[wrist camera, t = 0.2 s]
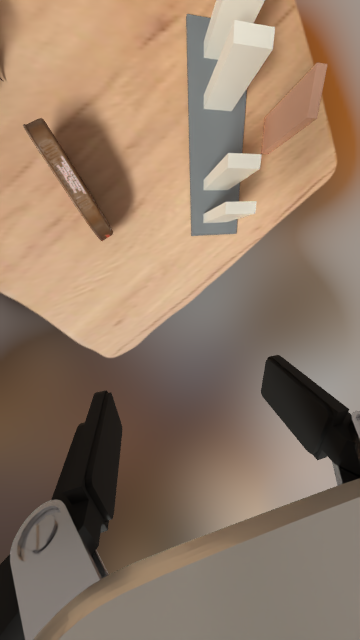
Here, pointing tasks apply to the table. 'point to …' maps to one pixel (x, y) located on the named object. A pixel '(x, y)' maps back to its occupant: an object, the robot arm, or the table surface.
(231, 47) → the tile
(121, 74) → the table surface
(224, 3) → the tile
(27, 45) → the table surface
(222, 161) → the tile
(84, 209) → the tin
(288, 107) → the tile
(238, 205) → the tile
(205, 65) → the slate mat
